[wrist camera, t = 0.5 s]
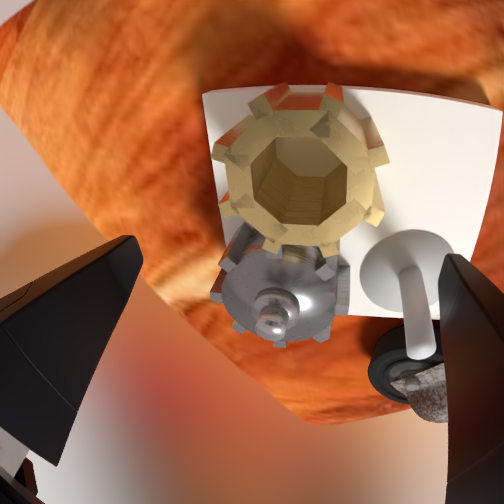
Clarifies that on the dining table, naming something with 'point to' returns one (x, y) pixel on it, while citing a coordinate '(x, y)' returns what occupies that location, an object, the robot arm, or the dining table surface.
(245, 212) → the brass gear
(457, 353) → the robot arm
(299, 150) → the gear board
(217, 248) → the dining table surface
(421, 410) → the caster wheel
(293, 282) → the gear
